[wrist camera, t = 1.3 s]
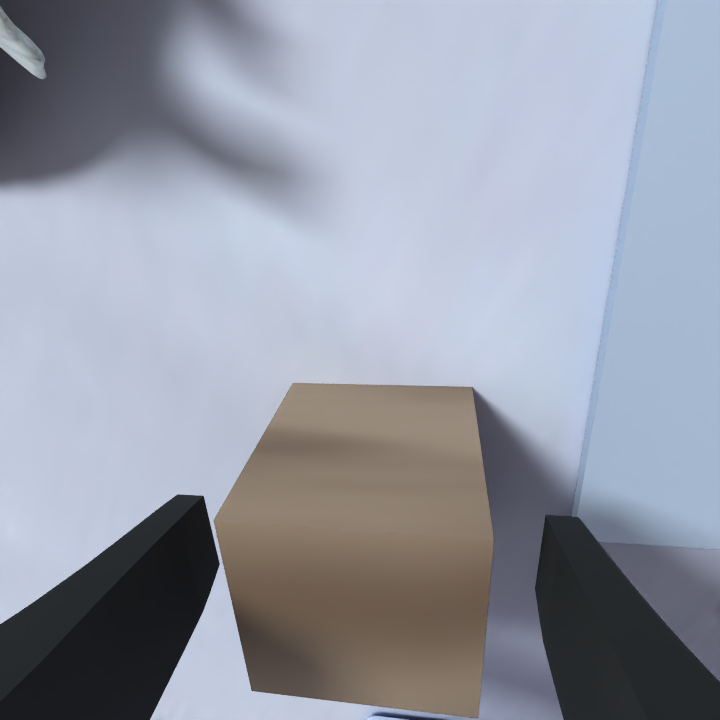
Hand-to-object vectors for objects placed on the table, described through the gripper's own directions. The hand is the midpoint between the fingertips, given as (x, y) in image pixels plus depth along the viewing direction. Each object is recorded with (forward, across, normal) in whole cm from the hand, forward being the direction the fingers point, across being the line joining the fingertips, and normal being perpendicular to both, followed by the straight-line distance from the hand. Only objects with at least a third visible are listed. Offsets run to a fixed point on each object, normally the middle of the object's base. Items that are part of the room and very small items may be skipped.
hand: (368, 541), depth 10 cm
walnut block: (+3, 0, 0) cm, 3 cm away
